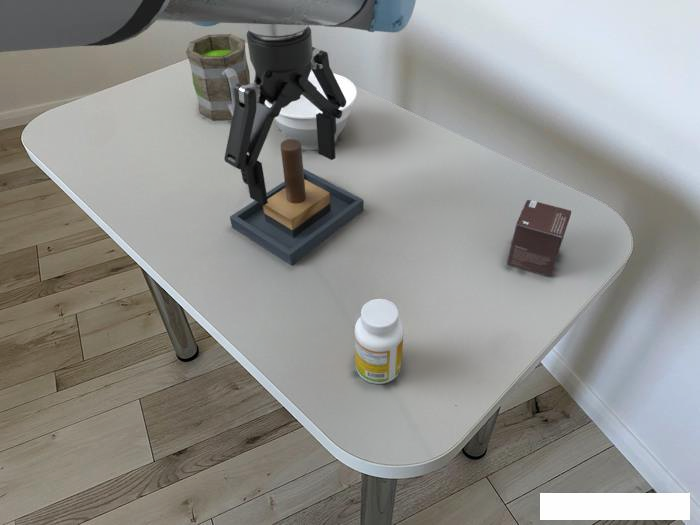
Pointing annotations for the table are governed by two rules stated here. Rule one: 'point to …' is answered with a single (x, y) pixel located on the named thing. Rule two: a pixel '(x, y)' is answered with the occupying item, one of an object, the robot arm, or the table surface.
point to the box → (538, 237)
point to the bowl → (313, 114)
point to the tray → (293, 249)
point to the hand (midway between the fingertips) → (294, 177)
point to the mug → (218, 73)
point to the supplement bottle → (378, 342)
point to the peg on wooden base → (295, 195)
